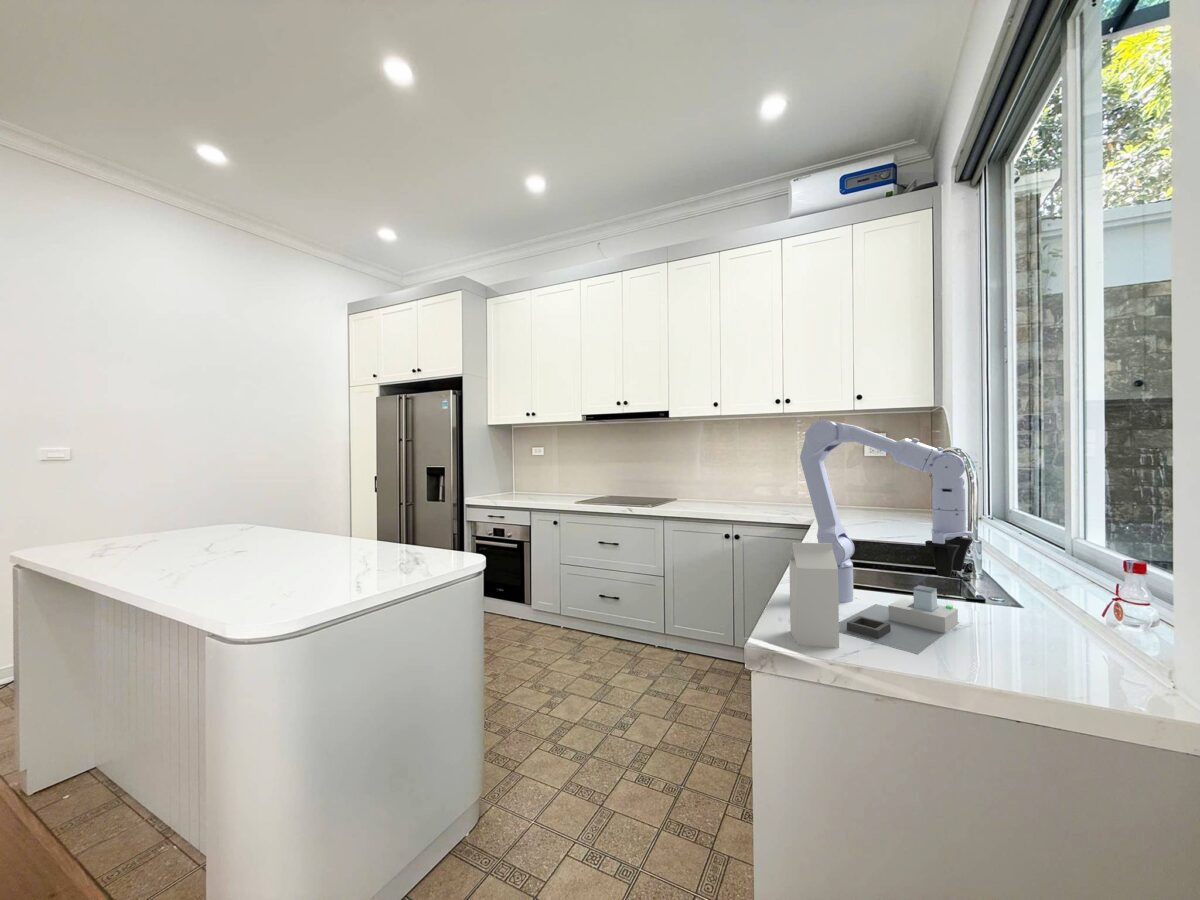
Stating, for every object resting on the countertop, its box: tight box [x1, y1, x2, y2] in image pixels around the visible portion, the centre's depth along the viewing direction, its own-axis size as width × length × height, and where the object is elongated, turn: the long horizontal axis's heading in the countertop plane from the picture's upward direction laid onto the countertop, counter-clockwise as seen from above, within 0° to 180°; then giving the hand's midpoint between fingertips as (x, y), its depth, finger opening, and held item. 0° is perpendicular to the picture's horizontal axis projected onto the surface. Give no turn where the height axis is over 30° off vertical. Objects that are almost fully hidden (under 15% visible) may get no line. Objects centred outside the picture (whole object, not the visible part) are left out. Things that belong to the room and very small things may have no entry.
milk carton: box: [788, 542, 840, 649], centre depth 90 cm, size 7×7×19 cm
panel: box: [839, 597, 960, 655], centre depth 96 cm, size 16×24×4 cm, turn 129°
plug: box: [913, 584, 938, 612], centre depth 98 cm, size 3×3×7 cm
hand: (949, 573), depth 100 cm, fingers open, 7 cm apart
